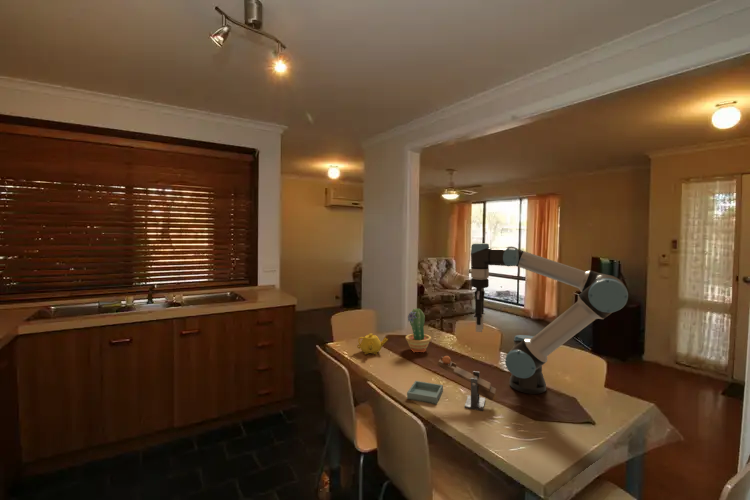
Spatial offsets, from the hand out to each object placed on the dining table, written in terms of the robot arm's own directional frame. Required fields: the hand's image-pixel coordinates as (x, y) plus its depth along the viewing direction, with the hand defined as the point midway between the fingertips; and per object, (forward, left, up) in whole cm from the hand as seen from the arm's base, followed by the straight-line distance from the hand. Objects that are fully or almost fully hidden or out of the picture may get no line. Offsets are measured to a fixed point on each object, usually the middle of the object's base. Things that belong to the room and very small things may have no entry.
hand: (479, 330), depth 155 cm
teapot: (+63, -25, -27) cm, 73 cm away
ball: (+12, +15, -10) cm, 22 cm away
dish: (+21, +15, -27) cm, 37 cm away
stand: (0, +15, -27) cm, 31 cm away
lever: (+5, +15, -19) cm, 24 cm away
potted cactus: (+39, -40, -27) cm, 62 cm away
